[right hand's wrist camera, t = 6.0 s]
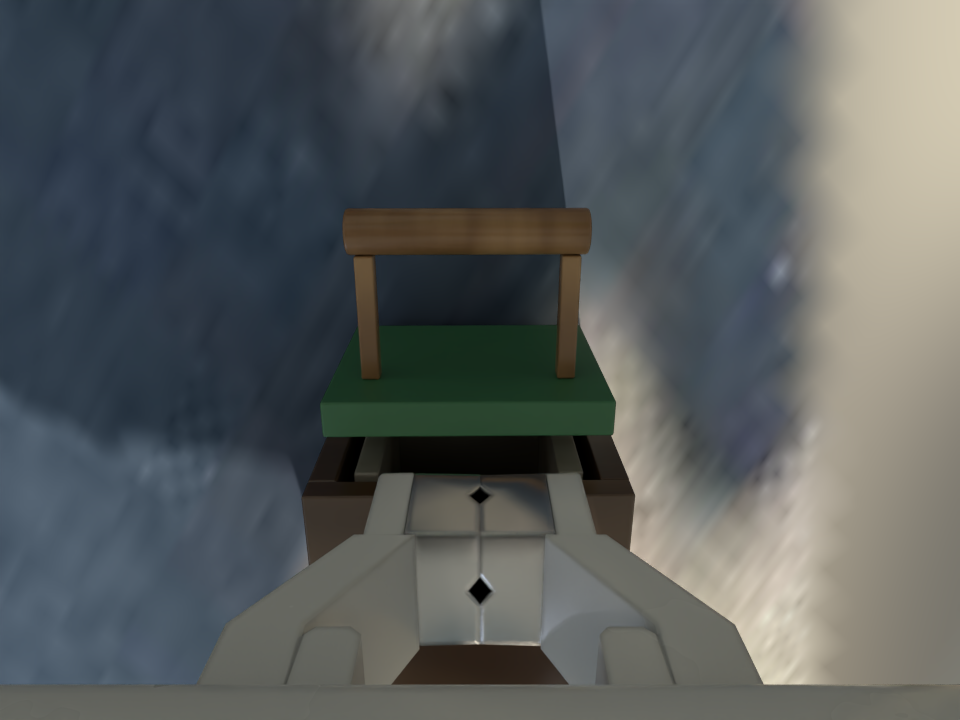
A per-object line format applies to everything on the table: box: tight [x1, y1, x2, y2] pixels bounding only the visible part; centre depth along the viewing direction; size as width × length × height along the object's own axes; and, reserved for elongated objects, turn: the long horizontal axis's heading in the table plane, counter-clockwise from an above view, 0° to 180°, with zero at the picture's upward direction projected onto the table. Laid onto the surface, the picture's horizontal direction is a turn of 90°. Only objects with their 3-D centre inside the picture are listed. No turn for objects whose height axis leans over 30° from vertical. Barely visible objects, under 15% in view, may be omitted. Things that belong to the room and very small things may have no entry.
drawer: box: [320, 208, 616, 482], centre depth 27 cm, size 26×9×7 cm, turn 0°
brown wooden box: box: [302, 435, 635, 685], centre depth 29 cm, size 22×10×9 cm, turn 0°
